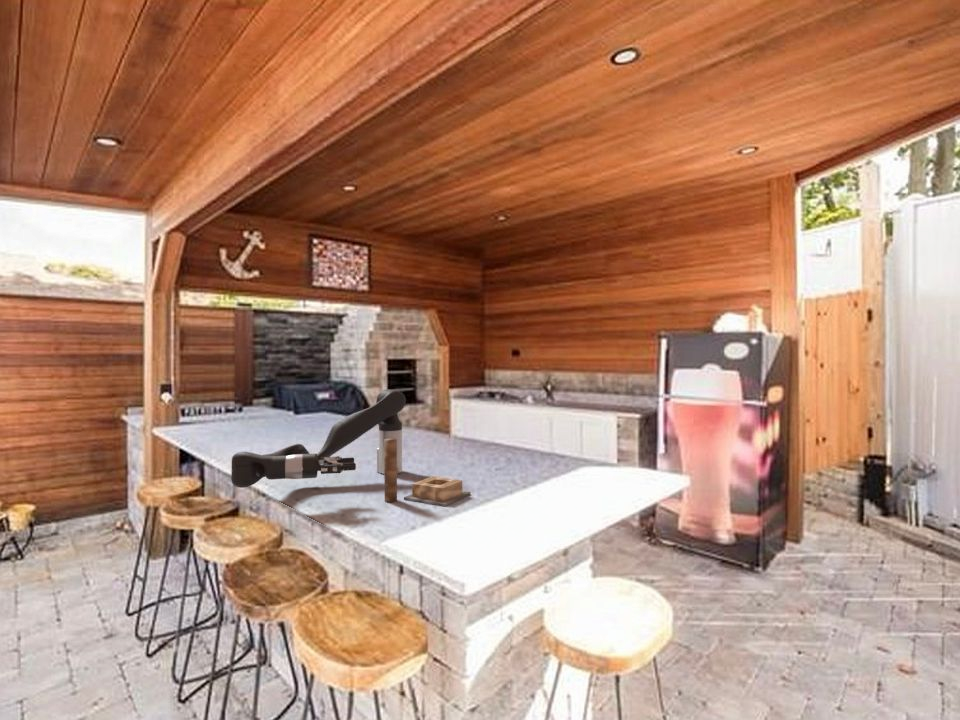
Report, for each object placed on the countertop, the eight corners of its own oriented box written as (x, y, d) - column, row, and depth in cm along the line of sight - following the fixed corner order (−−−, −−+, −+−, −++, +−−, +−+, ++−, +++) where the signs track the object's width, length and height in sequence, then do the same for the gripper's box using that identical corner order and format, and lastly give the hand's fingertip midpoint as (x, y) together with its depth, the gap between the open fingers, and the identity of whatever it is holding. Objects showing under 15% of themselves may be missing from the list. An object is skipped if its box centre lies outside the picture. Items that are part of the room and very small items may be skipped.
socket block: (403, 499, 177) (403, 484, 177) (431, 488, 191) (431, 474, 191) (445, 506, 169) (445, 490, 169) (470, 494, 183) (470, 479, 183)
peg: (382, 501, 175) (381, 440, 175) (389, 498, 179) (389, 438, 178) (391, 503, 173) (391, 441, 173) (399, 500, 177) (399, 439, 176)
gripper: (302, 473, 175) (353, 470, 179) (300, 483, 161) (356, 480, 165) (302, 450, 175) (353, 448, 179) (300, 458, 161) (356, 456, 165)
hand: (354, 463), depth 172 cm, fingers open, 8 cm apart
